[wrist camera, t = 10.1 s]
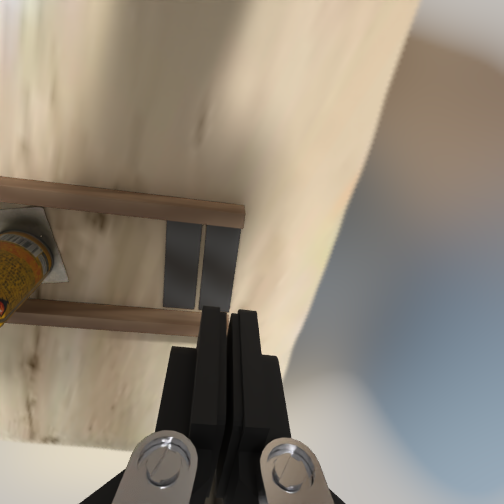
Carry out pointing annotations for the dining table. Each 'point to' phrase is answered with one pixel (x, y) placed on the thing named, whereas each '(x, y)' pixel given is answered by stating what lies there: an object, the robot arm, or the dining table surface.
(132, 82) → the dining table surface
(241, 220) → the trap lane
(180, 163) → the dining table surface
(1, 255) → the condiment
